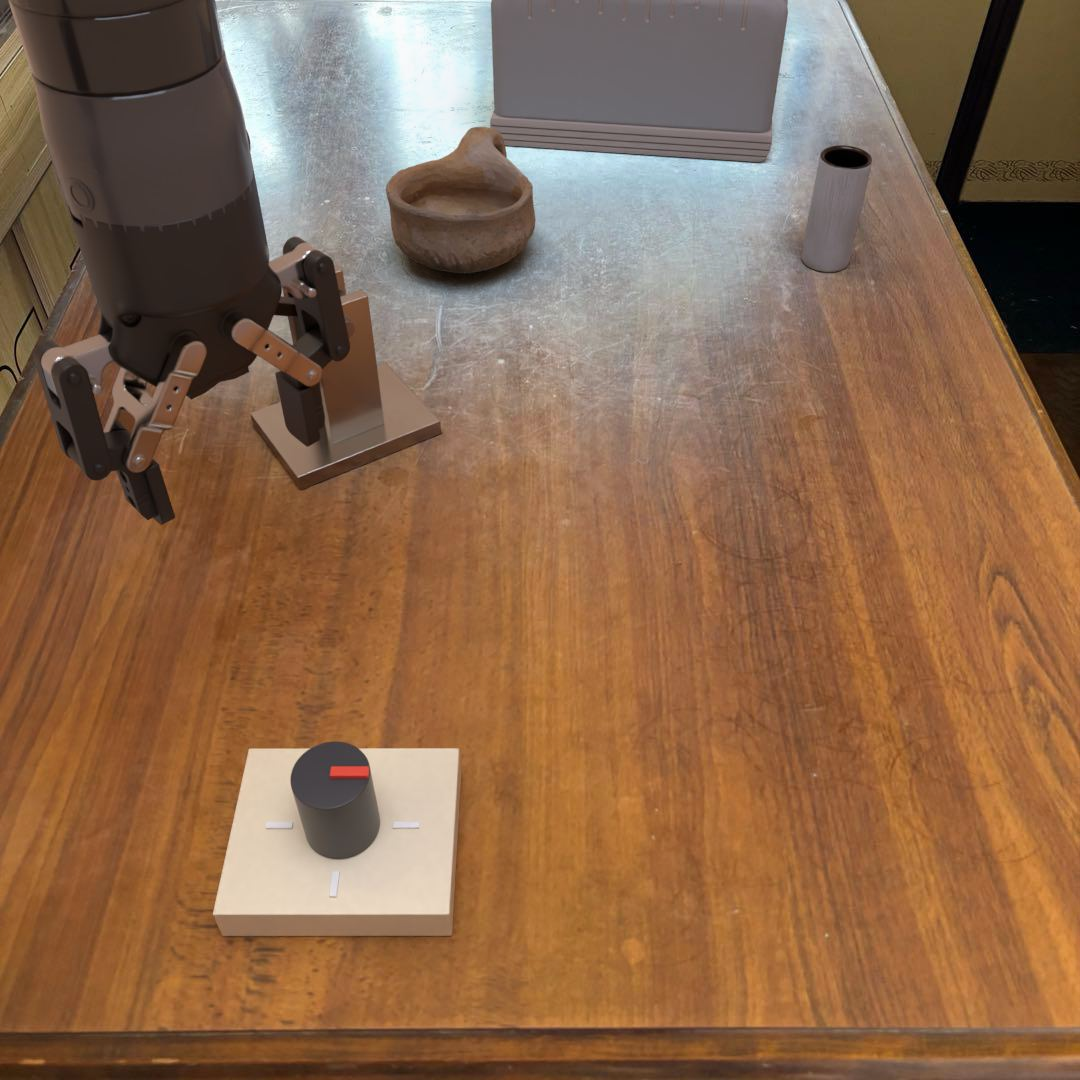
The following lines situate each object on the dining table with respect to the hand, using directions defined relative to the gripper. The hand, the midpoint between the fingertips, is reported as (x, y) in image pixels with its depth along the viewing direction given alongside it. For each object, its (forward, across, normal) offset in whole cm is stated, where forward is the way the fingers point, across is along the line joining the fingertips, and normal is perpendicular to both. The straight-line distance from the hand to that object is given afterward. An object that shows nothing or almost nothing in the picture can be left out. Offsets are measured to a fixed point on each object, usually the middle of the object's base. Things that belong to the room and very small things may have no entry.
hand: (233, 474), depth 56 cm
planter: (+18, -66, -7) cm, 69 cm away
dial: (+16, +4, +11) cm, 20 cm away
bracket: (+18, -18, -18) cm, 31 cm away
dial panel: (+18, +4, +11) cm, 22 cm away
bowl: (+18, -43, -33) cm, 57 cm away
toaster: (+17, -82, -46) cm, 96 cm away
